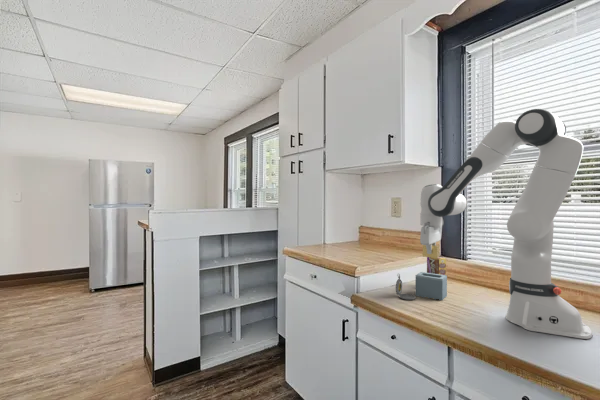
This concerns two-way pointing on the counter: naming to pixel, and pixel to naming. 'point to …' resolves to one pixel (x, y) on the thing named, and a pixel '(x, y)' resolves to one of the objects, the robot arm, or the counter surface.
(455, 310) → the counter surface
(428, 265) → the candy box
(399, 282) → the pocket watch
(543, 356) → the counter surface
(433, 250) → the tan wooden block
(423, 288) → the blue grey rectangular container
